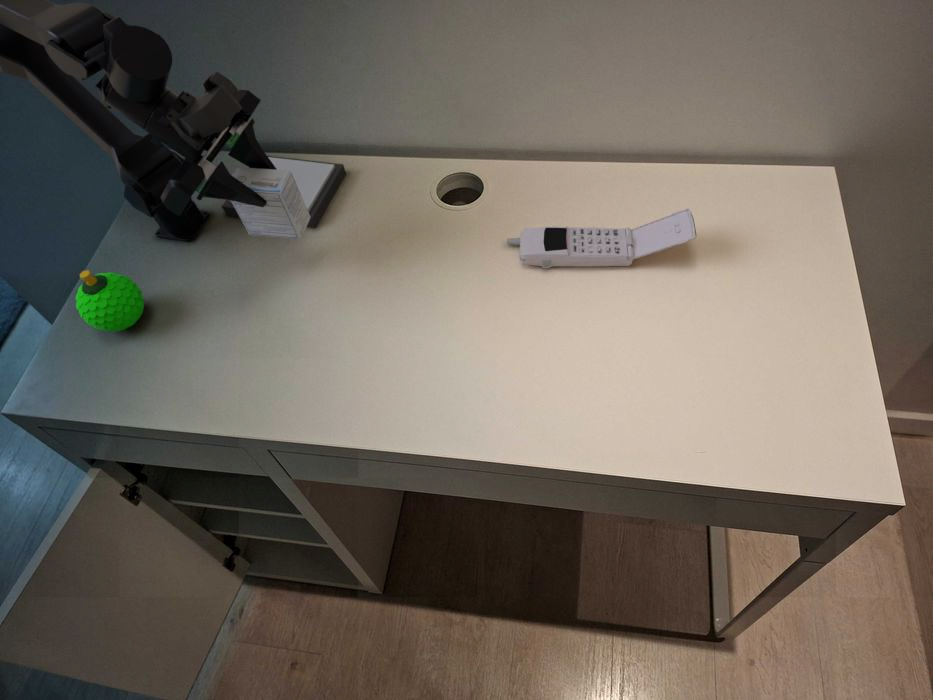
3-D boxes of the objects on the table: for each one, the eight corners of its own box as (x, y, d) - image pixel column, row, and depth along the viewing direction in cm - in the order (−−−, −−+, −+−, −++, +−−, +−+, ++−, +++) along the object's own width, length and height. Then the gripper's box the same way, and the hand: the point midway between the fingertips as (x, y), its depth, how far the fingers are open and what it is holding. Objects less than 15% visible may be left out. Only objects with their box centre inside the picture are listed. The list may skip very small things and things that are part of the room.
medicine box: (312, 218, 84) (292, 168, 77) (301, 241, 82) (280, 192, 75) (260, 214, 86) (236, 165, 78) (248, 236, 83) (223, 188, 76)
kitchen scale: (225, 216, 96) (219, 204, 94) (262, 163, 103) (256, 151, 101) (314, 229, 93) (309, 216, 91) (346, 173, 100) (342, 161, 98)
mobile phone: (698, 238, 77) (504, 239, 80) (688, 270, 82) (506, 270, 84) (692, 207, 80) (506, 209, 83) (682, 239, 85) (507, 239, 88)
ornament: (88, 325, 86) (41, 279, 78) (136, 289, 89) (96, 242, 81) (118, 352, 82) (72, 308, 74) (166, 314, 86) (127, 268, 77)
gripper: (130, 120, 60) (266, 214, 67) (216, 24, 70) (327, 114, 77) (109, 174, 69) (232, 253, 75) (189, 81, 78) (292, 158, 85)
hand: (273, 192), depth 78 cm, fingers closed on medicine box, 4 cm apart
